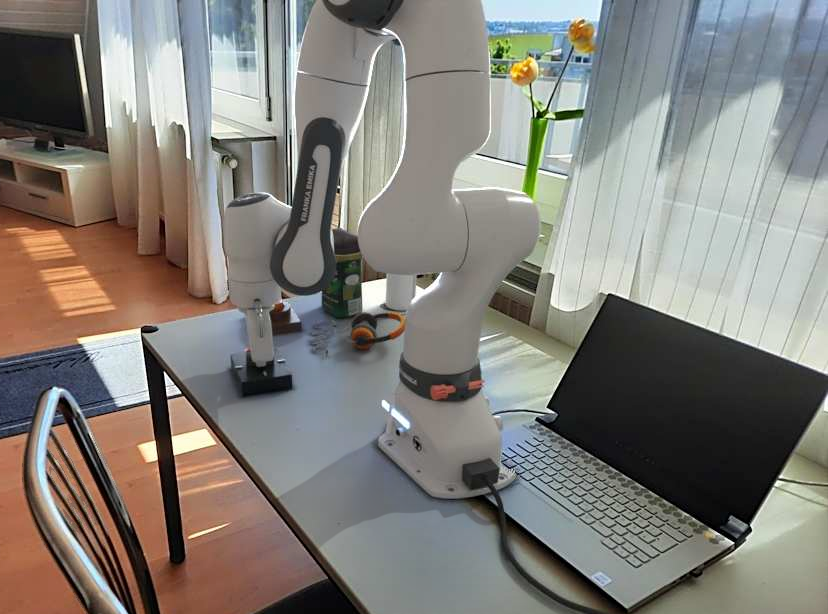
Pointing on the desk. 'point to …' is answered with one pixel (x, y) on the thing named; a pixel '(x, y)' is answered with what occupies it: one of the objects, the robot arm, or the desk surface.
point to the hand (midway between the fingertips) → (260, 360)
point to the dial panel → (261, 375)
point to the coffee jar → (345, 277)
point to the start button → (278, 306)
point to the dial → (249, 359)
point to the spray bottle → (400, 291)
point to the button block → (284, 320)
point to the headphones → (364, 330)
